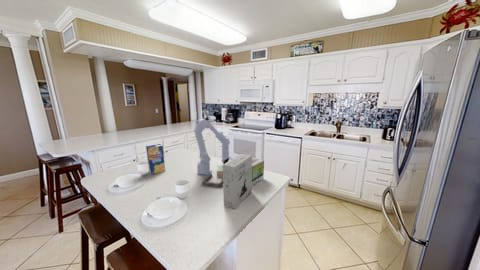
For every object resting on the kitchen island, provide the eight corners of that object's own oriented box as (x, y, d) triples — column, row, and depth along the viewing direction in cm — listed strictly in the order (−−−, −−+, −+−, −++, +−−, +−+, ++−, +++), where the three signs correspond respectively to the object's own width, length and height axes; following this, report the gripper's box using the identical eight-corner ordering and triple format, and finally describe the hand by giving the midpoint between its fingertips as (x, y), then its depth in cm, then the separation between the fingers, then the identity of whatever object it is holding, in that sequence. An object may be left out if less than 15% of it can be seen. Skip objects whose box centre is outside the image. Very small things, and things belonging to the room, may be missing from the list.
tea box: (253, 186, 123) (253, 166, 120) (241, 182, 129) (241, 163, 126) (263, 178, 135) (264, 160, 131) (252, 175, 141) (253, 157, 137)
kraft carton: (216, 177, 137) (216, 171, 136) (216, 170, 149) (216, 165, 148) (227, 176, 139) (227, 170, 137) (226, 170, 150) (226, 164, 149)
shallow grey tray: (202, 185, 124) (202, 182, 123) (210, 176, 138) (210, 173, 138) (220, 187, 121) (220, 184, 121) (227, 177, 136) (227, 174, 135)
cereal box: (234, 209, 98) (234, 167, 93) (223, 205, 102) (222, 164, 96) (251, 191, 116) (252, 155, 111) (241, 188, 120) (241, 153, 115)
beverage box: (165, 170, 148) (162, 145, 143) (151, 174, 141) (147, 148, 137) (162, 168, 153) (160, 143, 149) (148, 171, 147) (145, 146, 142)
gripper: (227, 154, 143) (227, 170, 146) (232, 149, 157) (232, 164, 159) (219, 154, 144) (219, 169, 147) (224, 149, 158) (224, 163, 161)
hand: (225, 166), depth 153 cm, fingers closed
